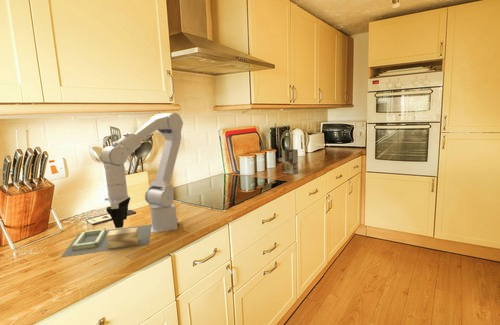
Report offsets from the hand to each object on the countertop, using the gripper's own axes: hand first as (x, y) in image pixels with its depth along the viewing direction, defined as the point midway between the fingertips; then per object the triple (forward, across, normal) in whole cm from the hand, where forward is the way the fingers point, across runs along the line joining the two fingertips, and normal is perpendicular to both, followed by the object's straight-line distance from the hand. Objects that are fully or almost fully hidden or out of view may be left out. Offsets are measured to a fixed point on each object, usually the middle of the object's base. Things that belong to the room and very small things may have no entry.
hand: (121, 223), depth 97 cm
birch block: (+7, 0, 0) cm, 7 cm away
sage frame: (+8, -7, -12) cm, 16 cm away
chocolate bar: (+8, -33, -10) cm, 36 cm away
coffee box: (+8, -84, +94) cm, 126 cm away
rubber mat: (+8, -6, -5) cm, 11 cm away
